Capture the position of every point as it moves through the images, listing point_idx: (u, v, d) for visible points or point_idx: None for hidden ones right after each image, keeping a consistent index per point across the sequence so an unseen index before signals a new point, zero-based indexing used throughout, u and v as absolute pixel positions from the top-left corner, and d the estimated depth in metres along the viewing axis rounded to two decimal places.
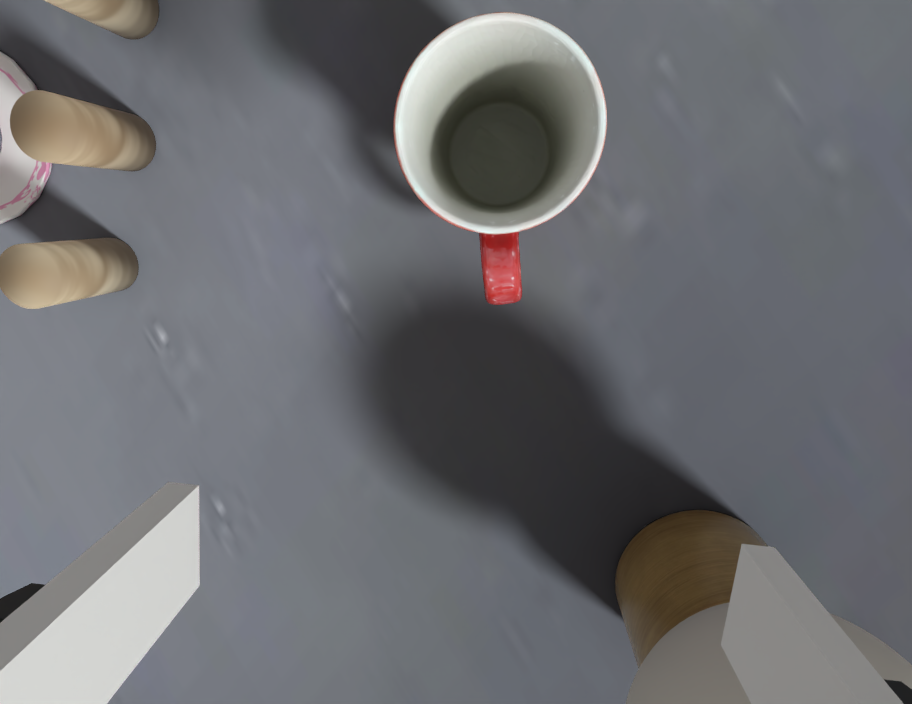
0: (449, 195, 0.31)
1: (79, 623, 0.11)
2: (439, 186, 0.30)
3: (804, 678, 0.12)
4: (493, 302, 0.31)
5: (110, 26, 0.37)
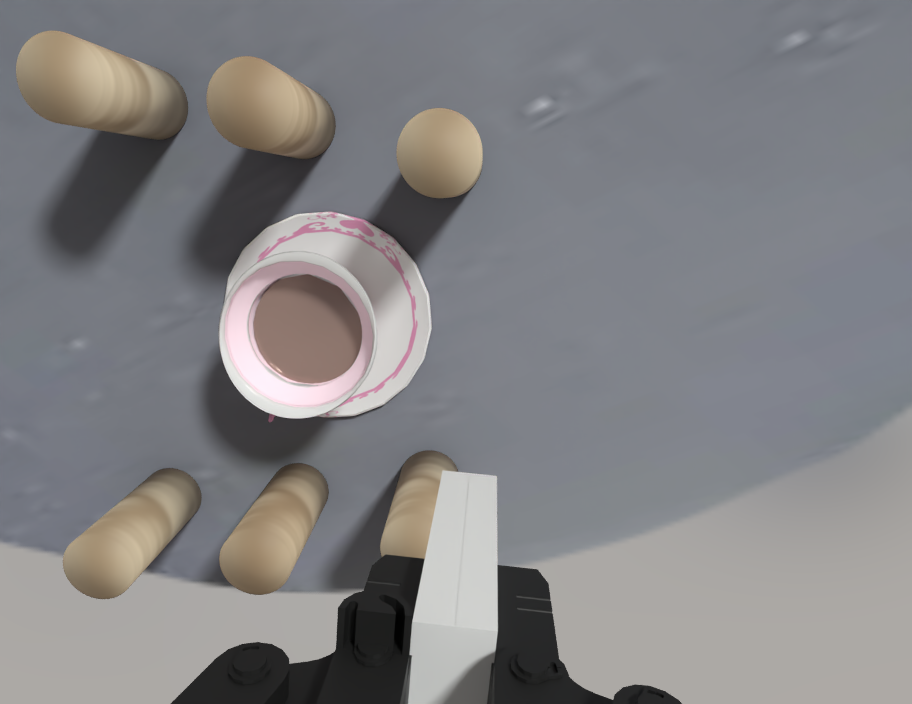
0: None
1: None
2: None
3: None
4: None
5: (161, 91, 0.31)
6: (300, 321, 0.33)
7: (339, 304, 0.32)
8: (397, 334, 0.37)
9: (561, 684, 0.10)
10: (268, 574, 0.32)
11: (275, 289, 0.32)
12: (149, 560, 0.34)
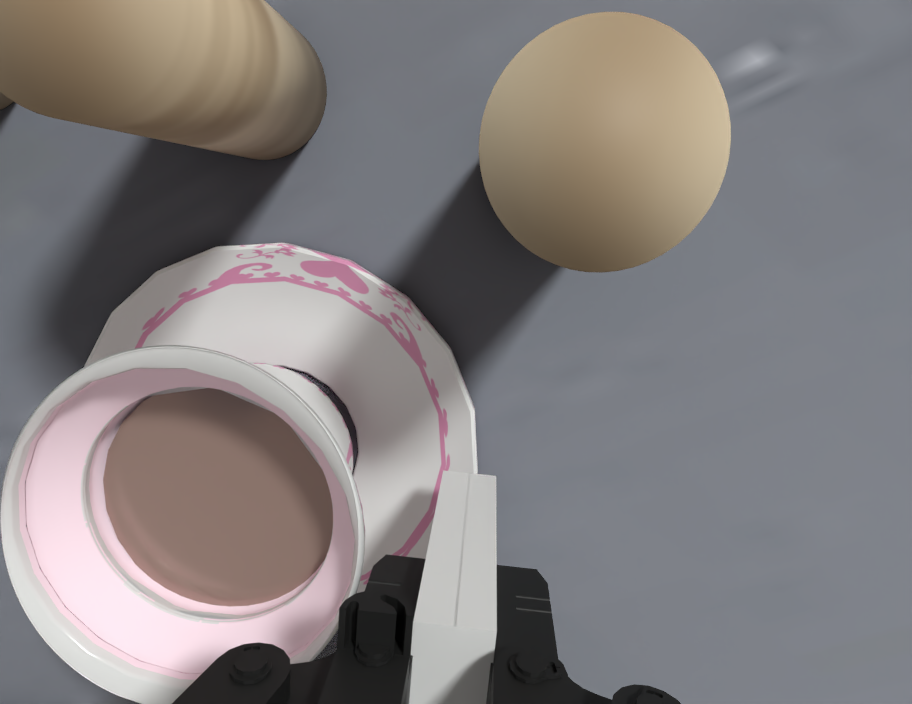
0: None
1: None
2: None
3: None
4: None
5: None
6: (203, 481, 0.15)
7: (286, 449, 0.15)
8: (409, 479, 0.19)
9: (560, 684, 0.10)
10: None
11: (147, 413, 0.15)
12: None
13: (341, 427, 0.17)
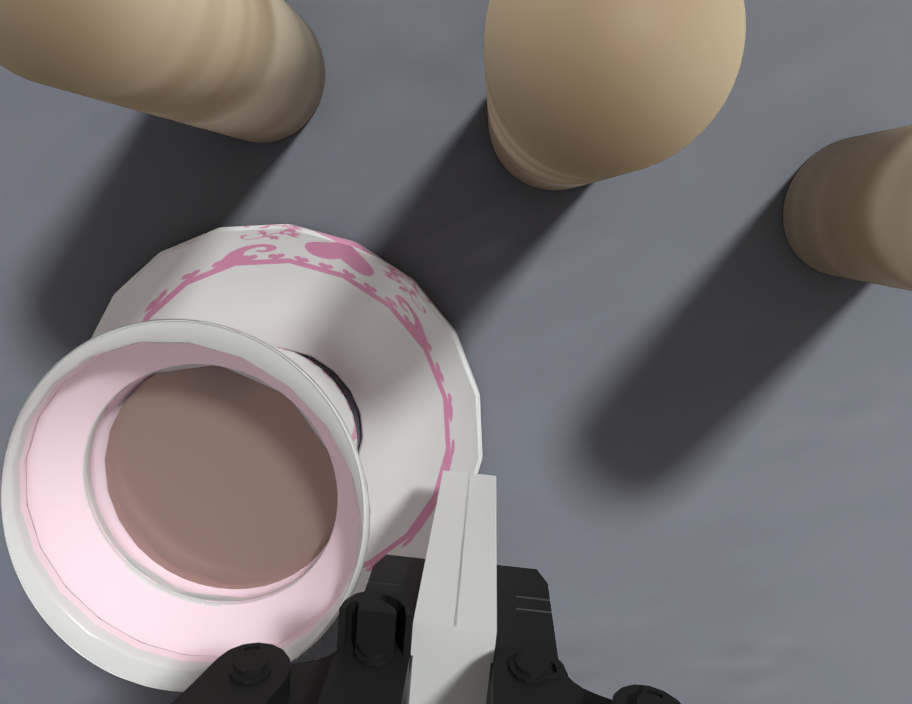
0: None
1: None
2: None
3: None
4: None
5: (290, 34, 0.14)
6: (206, 462, 0.15)
7: (290, 429, 0.15)
8: (413, 464, 0.19)
9: (560, 684, 0.10)
10: None
11: (150, 392, 0.15)
12: None
13: (345, 410, 0.17)
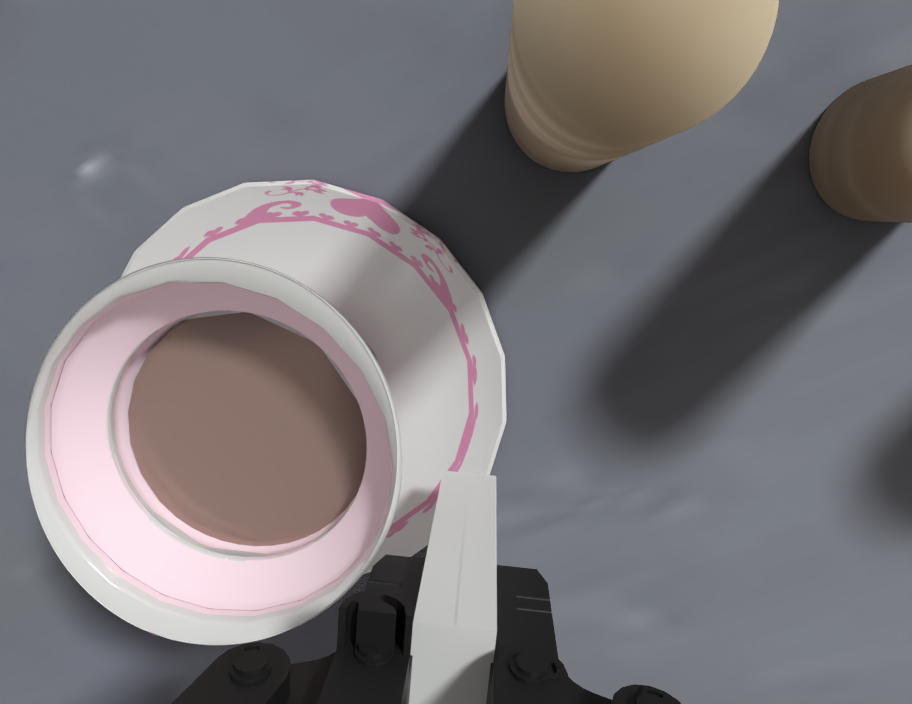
0: None
1: None
2: None
3: None
4: None
5: None
6: (232, 414, 0.15)
7: (318, 380, 0.14)
8: (436, 429, 0.19)
9: (560, 684, 0.10)
10: None
11: (176, 342, 0.14)
12: None
13: None
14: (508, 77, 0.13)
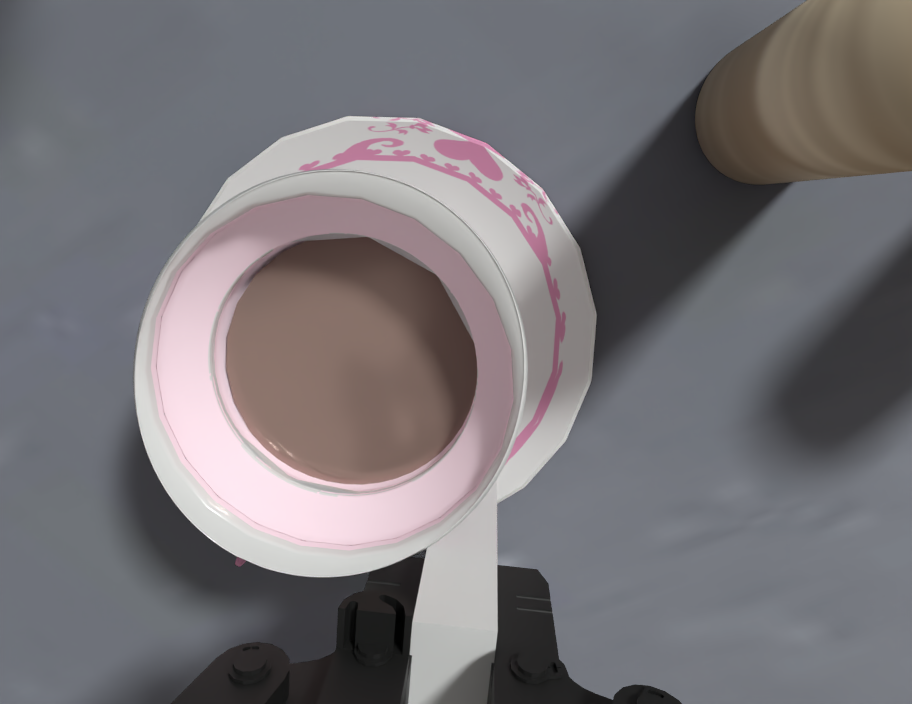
0: None
1: None
2: None
3: None
4: None
5: None
6: (334, 345, 0.14)
7: (428, 316, 0.14)
8: None
9: (561, 684, 0.10)
10: None
11: (285, 266, 0.14)
12: None
13: None
14: (760, 93, 0.12)
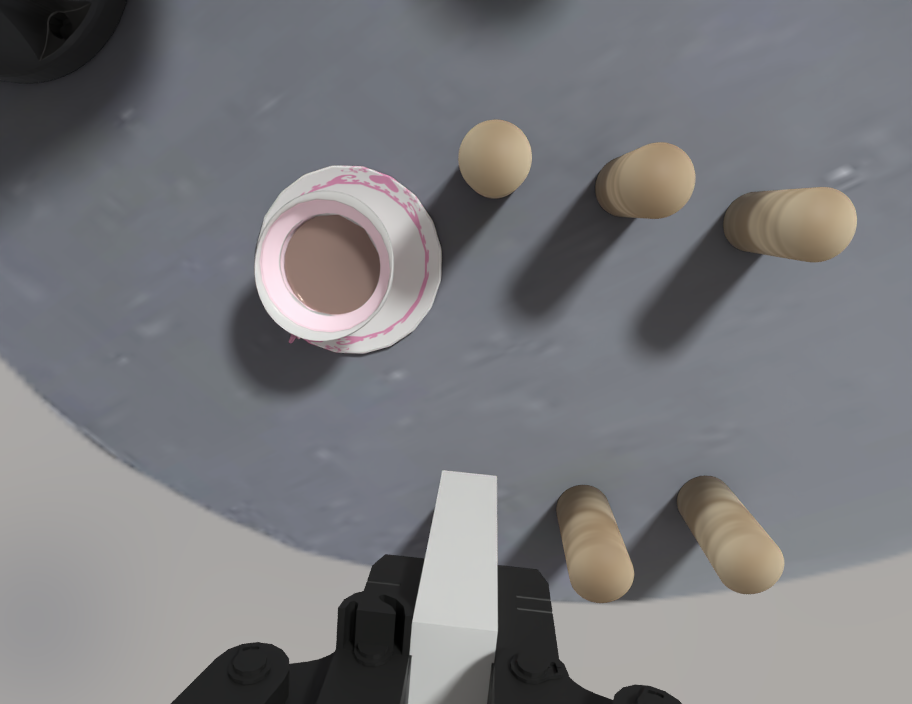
0: None
1: None
2: None
3: None
4: None
5: None
6: (326, 257, 0.37)
7: (362, 245, 0.37)
8: (409, 283, 0.41)
9: (561, 684, 0.10)
10: (612, 585, 0.36)
11: (307, 226, 0.37)
12: None
13: None
14: None
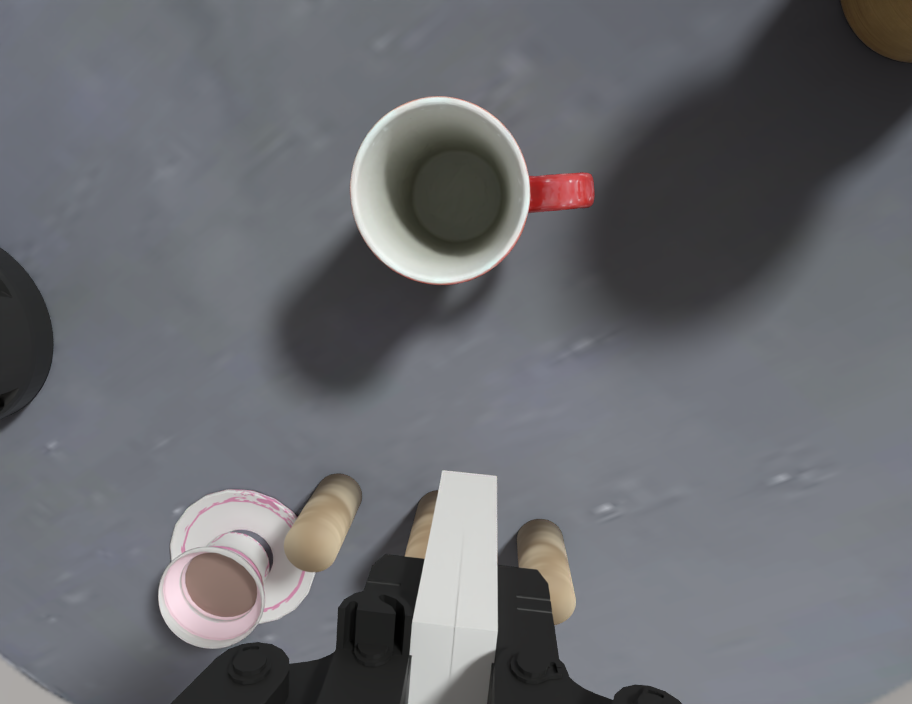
0: (493, 239, 0.35)
1: None
2: (485, 248, 0.35)
3: None
4: (592, 199, 0.34)
5: (353, 510, 0.47)
6: (217, 577, 0.48)
7: (244, 570, 0.47)
8: (291, 573, 0.52)
9: (561, 684, 0.10)
10: None
11: (202, 555, 0.47)
12: None
13: (265, 558, 0.50)
14: None
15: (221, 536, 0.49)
